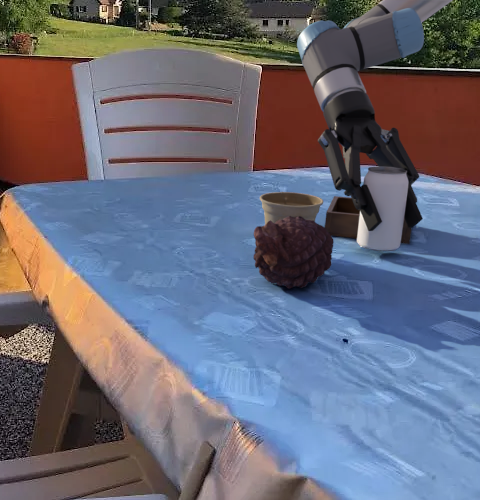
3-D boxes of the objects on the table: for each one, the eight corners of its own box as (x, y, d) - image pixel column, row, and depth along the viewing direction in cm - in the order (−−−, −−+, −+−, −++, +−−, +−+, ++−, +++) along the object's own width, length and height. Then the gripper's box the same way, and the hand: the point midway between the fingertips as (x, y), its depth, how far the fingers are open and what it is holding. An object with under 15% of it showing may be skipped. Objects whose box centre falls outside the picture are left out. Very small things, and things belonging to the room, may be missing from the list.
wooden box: (409, 224, 128) (412, 202, 126) (409, 244, 115) (412, 220, 114) (331, 216, 132) (334, 195, 131) (324, 235, 120) (326, 212, 119)
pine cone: (280, 257, 107) (323, 207, 103) (325, 304, 102) (372, 253, 98) (215, 251, 93) (262, 192, 89) (264, 304, 88) (315, 245, 84)
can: (359, 238, 114) (368, 164, 111) (402, 243, 112) (412, 168, 108) (353, 248, 109) (361, 170, 105) (397, 254, 106) (407, 175, 102)
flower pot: (320, 264, 104) (325, 207, 102) (255, 260, 106) (259, 203, 103) (316, 246, 113) (321, 193, 110) (256, 242, 114) (260, 190, 112)
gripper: (383, 117, 122) (434, 233, 112) (282, 119, 116) (327, 241, 106) (407, 87, 115) (464, 208, 105) (302, 88, 110) (351, 215, 100)
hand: (395, 224), depth 106 cm, fingers closed on can, 6 cm apart
